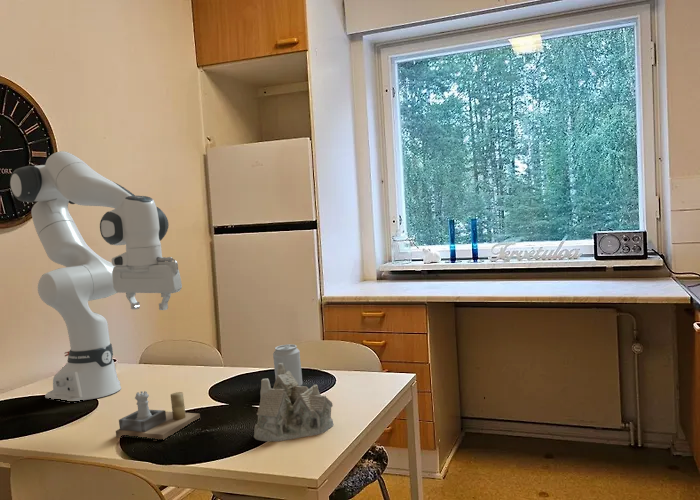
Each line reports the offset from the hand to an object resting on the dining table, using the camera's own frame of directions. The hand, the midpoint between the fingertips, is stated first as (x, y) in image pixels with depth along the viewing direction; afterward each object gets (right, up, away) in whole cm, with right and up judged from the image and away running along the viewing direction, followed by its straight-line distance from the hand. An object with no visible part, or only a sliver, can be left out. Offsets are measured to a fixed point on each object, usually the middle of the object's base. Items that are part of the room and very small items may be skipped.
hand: (149, 309), depth 164 cm
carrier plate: (+7, -28, -13) cm, 31 cm away
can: (+36, -24, +12) cm, 45 cm away
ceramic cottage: (+40, -26, -22) cm, 52 cm away
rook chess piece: (+4, -27, -14) cm, 31 cm away
